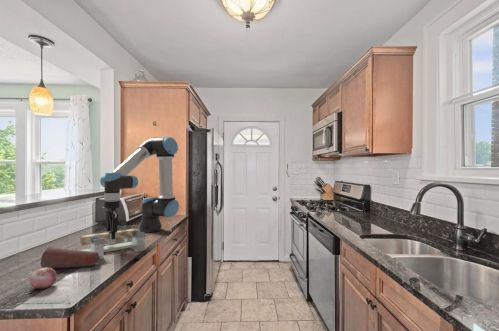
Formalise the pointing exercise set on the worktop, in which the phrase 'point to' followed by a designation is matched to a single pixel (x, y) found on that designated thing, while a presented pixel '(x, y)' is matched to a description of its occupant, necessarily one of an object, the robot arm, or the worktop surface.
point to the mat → (115, 247)
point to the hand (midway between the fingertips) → (111, 244)
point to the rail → (107, 236)
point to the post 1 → (97, 246)
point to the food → (68, 258)
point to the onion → (43, 278)
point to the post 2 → (138, 241)
